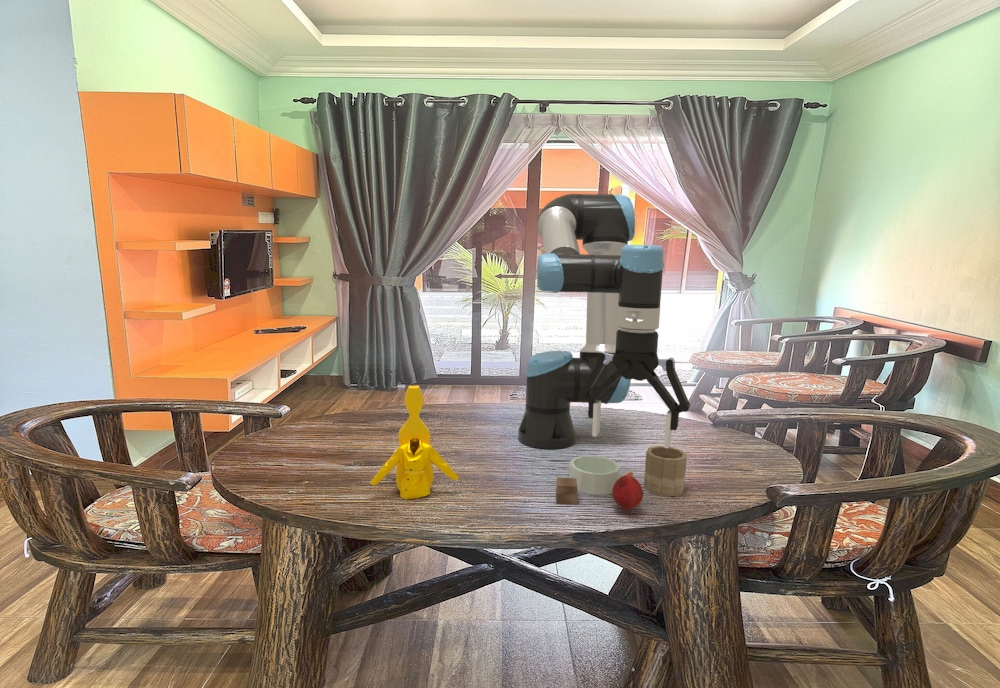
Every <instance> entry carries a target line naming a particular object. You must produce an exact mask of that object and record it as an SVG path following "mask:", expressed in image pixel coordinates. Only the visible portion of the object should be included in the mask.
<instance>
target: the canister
mask: <svg viewBox="0 0 1000 688" xmlns="http://www.w3.org/2000/svg"><path fill="white" fill-rule="evenodd" d="M645 454H646V455H645V467H644V481H643V483H644V484H643V487H644V488H645V490H647V492H649V493H650V492H651V494H653V493H654V495H656V494H657V495H658V496H659V495H660V497H668V496H675V497H678V496H677V495H679V496H681V495H680V494H682V495H684V492H685V485H686V471H687V459H688V453H687V452H685V451H683V449H681V448H676V447H672V446H669V448H664V445H655V446H651V447H648V448H647V450H646V452H645ZM683 491H684V492H683Z"/></svg>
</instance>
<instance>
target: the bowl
mask: <svg viewBox="0 0 1000 688" xmlns="http://www.w3.org/2000/svg"><path fill="white" fill-rule="evenodd" d="M568 470H569V471H568V478H576V480H577V492H580V493H583V494H587V495H591V496H599V495H600V496H605V495H606V496H608V495H611V494H612V489H613V486H614V484H615V482H616V481H617V480H618V479H619V478H620V477H621V466H620V464H619V463H618V461H615V460H614V459H612V458H609V457H605V456H601V455H600V456H599V455H580V456H577V457H573V458H572V459H571V460H570V461H569V469H568Z"/></svg>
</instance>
